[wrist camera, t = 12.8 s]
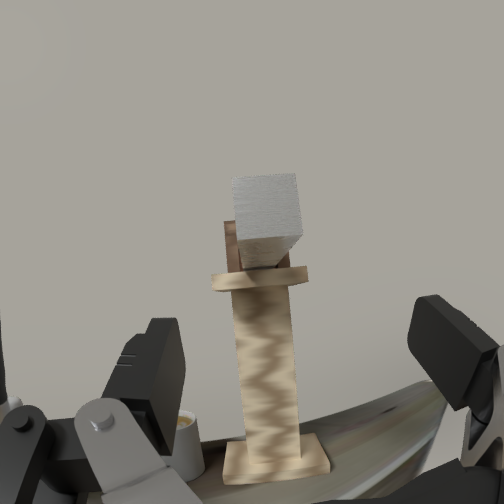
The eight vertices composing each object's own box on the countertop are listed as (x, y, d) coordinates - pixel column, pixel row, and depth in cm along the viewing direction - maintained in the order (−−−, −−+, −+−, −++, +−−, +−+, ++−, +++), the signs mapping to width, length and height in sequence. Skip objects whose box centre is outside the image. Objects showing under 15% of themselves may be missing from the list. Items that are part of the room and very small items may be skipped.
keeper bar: (210, 242, 18) (206, 171, 19) (232, 273, 43) (229, 241, 44) (328, 232, 18) (317, 163, 19) (283, 268, 43) (279, 236, 44)
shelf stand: (223, 491, 33) (192, 224, 39) (228, 450, 47) (206, 243, 53) (333, 479, 34) (315, 213, 39) (314, 441, 48) (298, 235, 53)
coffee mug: (189, 451, 47) (181, 405, 48) (215, 473, 39) (207, 422, 40) (122, 465, 39) (109, 417, 41) (137, 493, 31) (122, 440, 33)
